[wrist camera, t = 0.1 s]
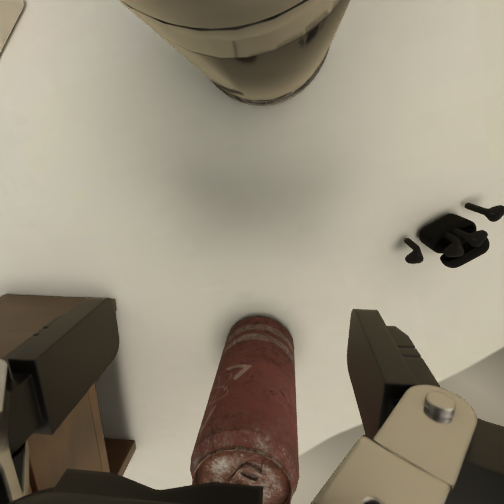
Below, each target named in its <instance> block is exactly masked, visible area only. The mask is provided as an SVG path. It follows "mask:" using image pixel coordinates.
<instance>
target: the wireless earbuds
mask: <svg viewBox="0 0 504 504" xmlns="http://www.w3.org/2000/svg"><path fill="white" fill-rule="evenodd" d="M465 208H466V209H469V210H472V211H475V212H478V213H480V214H483V215H485V216H486V217H487V218H488V219H489V220H490V221H492V222H495V221H497V220H499V219H500V218H501V217H502V216H503V215H504V206H502V205H499V206H495V207H492V208H490V209H486V208H483V207H480V206H477V205H474V204H471V203H466V204H465ZM487 236H488V234H487V232H486V231H484V230H480V231H476V225H475V224H474V223H473V222H472V221H470V220H468V219H465V218H463V217H461V216H458V215H456V214H447V215H445V216H443V217H441V218H439V219H438V220H436V221H434V222H432V223H431V224H429V225H427V226H426V227H424V228H423V229H422V230H421V231H420V233H419V238H420V240H421V242H422V243H424V244H425V245H426V246H428V247H429V248H430V249H432V250H433V251H435V252H436V253H444V254H443V255H442V256H441V257H440V260H441V262H442V263H443V264H444V265H445V266H447V267H450V268H456V267H459V266H461V265H463V264H465V263H467V262H469V261H471V260H473V259H475V258H476V257H478V256H480V255H482V254H484V253H485V252H486V251H487V250H488V249H489V240H488V238H487ZM404 242H405V243H406V244H407V245H408V246H409V247H411V248H412V249H413V251H412V252H411V253H410V254H408V255H407V256H406V258H405V260H406V262H407V263H411V264H416V263H421V262H422V261H423V256H422V253H421V250H420V247H419V246H418V245H417V244H416V243H414V242H413V241H412V240H410V239H409V238H405V239H404Z"/></svg>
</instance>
